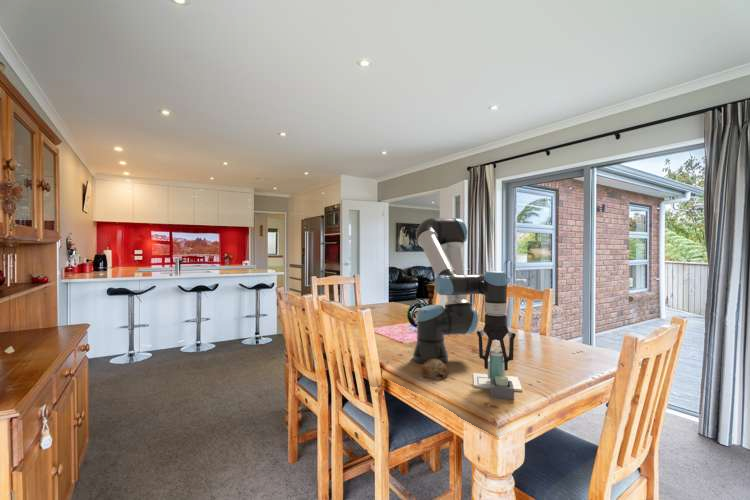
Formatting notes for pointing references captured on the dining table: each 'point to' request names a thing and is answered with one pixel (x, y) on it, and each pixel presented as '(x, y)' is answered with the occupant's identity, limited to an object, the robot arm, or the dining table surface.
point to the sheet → (484, 382)
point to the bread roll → (434, 369)
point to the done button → (501, 381)
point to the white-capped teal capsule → (495, 363)
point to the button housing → (502, 390)
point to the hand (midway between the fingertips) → (495, 378)
